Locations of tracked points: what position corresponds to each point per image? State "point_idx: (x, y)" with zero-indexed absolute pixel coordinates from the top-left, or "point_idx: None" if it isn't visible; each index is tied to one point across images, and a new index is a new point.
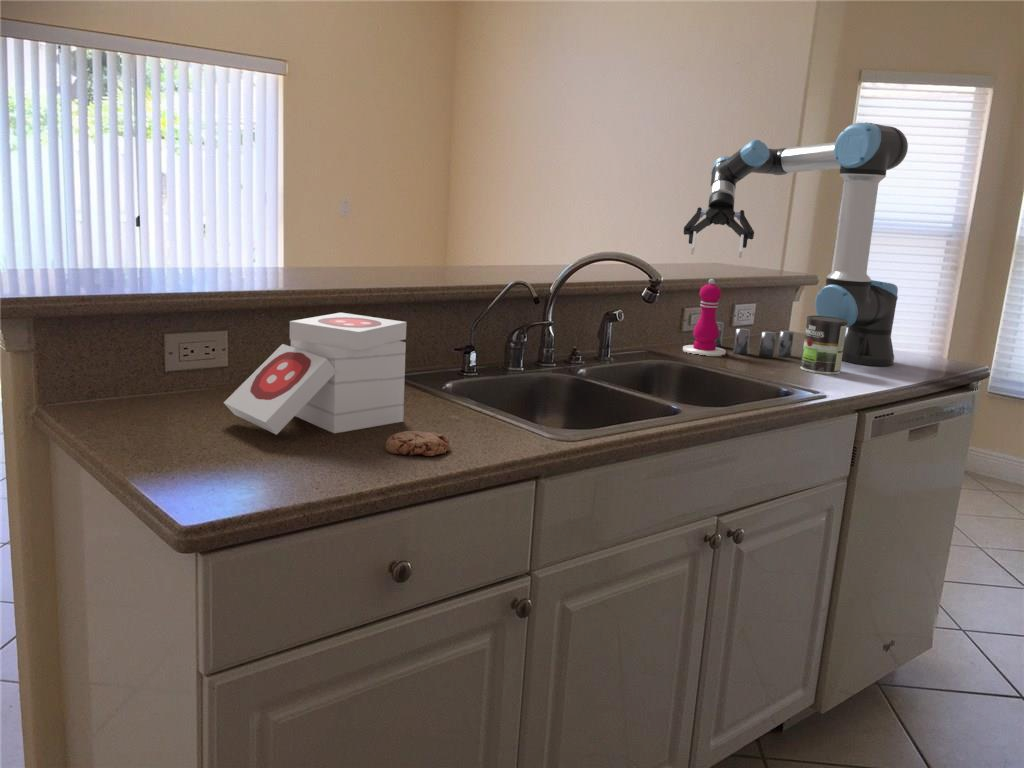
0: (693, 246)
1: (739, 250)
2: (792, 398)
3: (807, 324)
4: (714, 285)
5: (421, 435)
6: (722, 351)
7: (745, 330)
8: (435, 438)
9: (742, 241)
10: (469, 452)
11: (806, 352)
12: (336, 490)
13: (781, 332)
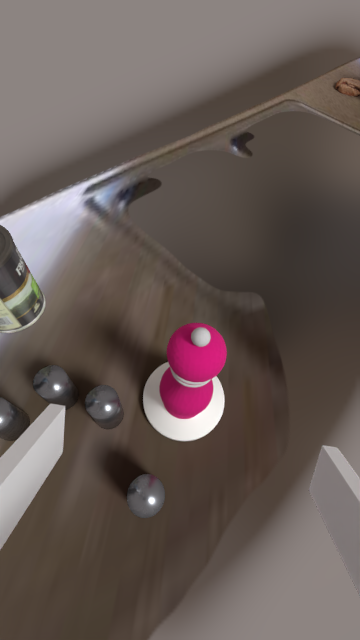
0: (333, 453)
1: (45, 462)
2: (125, 180)
3: (15, 257)
4: (191, 331)
5: (351, 81)
6: (151, 381)
7: (100, 387)
8: (343, 79)
9: (7, 456)
10: (326, 88)
11: (34, 281)
12: (350, 66)
13: (8, 405)
